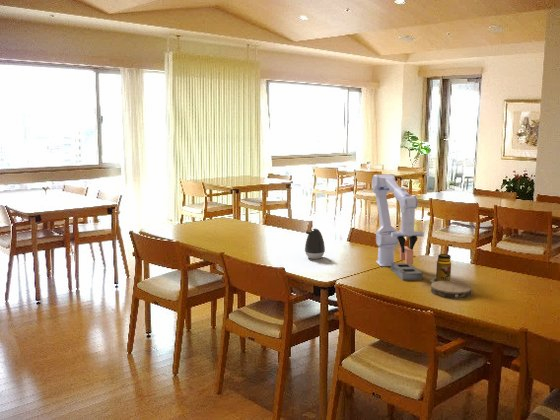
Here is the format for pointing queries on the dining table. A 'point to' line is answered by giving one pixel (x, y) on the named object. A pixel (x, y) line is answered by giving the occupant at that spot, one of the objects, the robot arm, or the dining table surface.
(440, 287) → the gray brown round disc
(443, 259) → the condiment
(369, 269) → the dining table surface
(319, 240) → the pump dispenser
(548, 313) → the dining table surface
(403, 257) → the tall salmon pink prism
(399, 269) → the gray block with cutout
